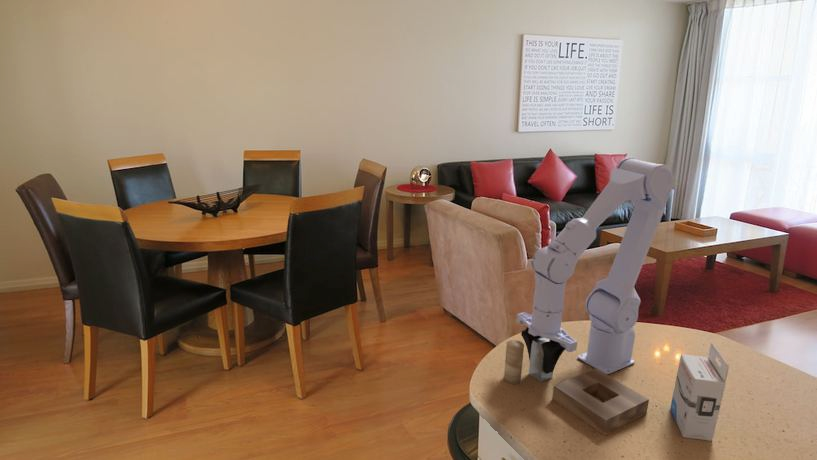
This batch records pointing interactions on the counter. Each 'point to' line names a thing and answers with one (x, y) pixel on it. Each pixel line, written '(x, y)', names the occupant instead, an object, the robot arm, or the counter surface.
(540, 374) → the square bit
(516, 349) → the round dowel
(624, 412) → the bore block
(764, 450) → the counter surface
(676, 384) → the ink box
